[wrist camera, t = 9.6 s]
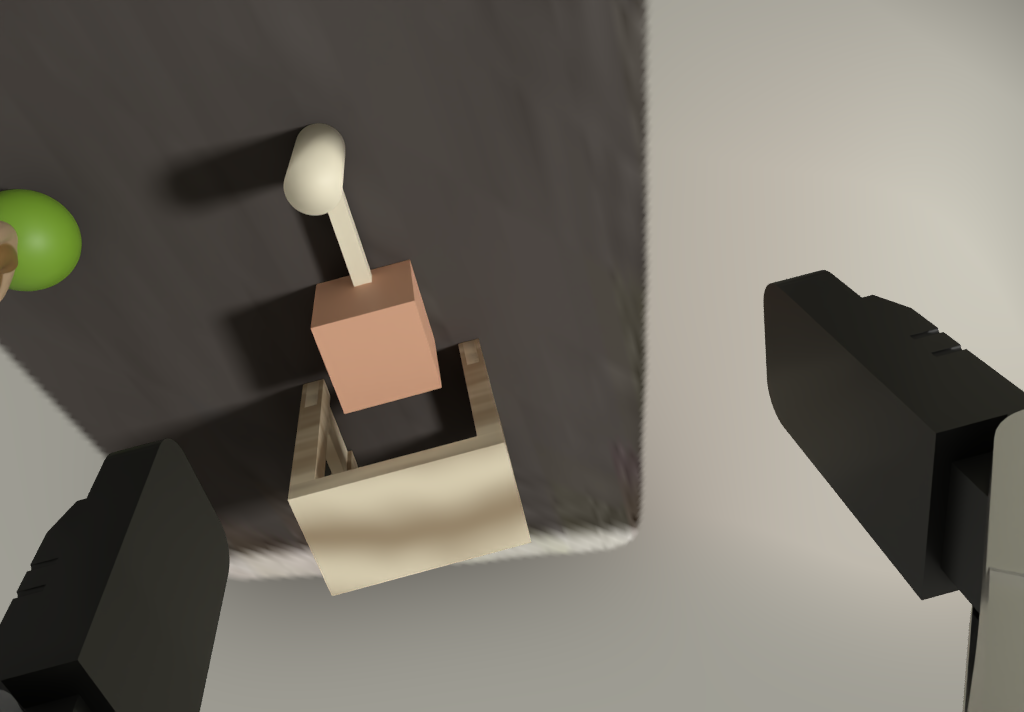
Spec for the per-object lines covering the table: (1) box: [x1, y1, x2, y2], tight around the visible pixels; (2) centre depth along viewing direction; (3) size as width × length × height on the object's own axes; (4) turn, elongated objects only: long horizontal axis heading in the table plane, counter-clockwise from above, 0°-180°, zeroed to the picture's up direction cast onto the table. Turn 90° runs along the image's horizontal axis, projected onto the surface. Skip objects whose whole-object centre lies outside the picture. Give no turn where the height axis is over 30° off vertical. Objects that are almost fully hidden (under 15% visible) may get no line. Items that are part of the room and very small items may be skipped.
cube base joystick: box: [284, 123, 442, 414], centre depth 46 cm, size 15×6×8 cm, turn 13°
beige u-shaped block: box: [288, 339, 531, 596], centre depth 50 cm, size 8×12×12 cm, turn 102°
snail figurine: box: [0, 189, 82, 302], centre depth 40 cm, size 5×6×12 cm
